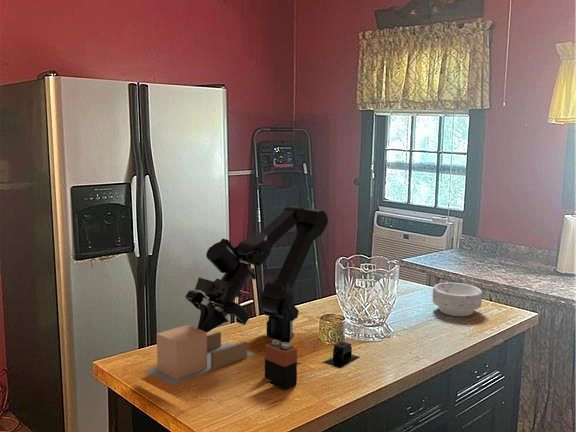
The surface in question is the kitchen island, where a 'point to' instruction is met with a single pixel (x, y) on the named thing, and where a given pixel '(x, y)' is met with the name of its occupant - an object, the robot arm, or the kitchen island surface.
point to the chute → (211, 357)
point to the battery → (281, 364)
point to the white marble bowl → (457, 298)
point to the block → (181, 351)
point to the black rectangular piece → (341, 355)
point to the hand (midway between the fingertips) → (197, 335)
